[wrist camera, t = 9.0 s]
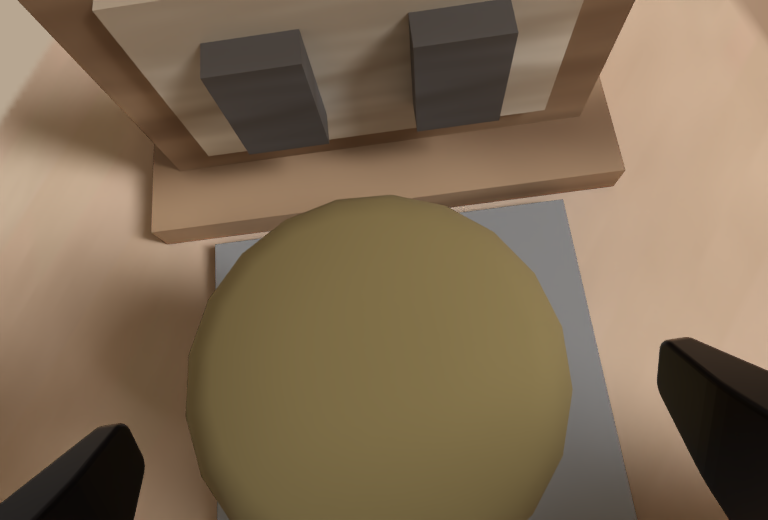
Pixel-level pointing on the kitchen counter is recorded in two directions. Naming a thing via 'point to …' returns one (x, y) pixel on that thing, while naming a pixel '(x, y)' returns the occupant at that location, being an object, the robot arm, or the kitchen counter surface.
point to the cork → (378, 371)
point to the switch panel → (349, 100)
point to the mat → (589, 395)
